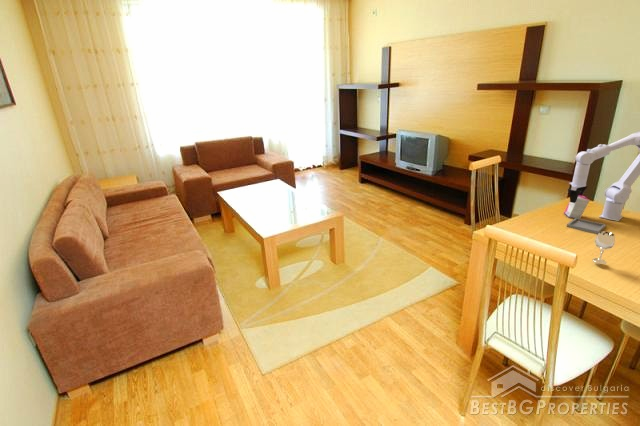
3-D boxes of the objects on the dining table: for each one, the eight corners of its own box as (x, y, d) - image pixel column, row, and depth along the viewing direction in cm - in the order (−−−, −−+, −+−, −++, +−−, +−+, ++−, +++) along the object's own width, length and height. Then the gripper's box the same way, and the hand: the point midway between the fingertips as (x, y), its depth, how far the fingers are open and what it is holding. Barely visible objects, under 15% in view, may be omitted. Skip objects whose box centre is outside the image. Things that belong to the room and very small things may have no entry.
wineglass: (586, 258, 138) (593, 231, 134) (599, 257, 138) (607, 230, 134) (598, 265, 133) (606, 237, 129) (612, 264, 133) (620, 236, 129)
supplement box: (580, 219, 177) (590, 200, 171) (568, 217, 177) (577, 198, 172) (575, 214, 182) (584, 195, 176) (563, 213, 183) (572, 193, 177)
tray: (574, 220, 176) (575, 217, 175) (605, 227, 166) (605, 224, 166) (566, 227, 168) (566, 224, 168) (597, 234, 159) (598, 231, 159)
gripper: (576, 171, 179) (570, 196, 184) (566, 176, 171) (561, 202, 175) (592, 173, 174) (586, 198, 179) (583, 179, 166) (577, 205, 170)
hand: (575, 200), depth 177 cm, fingers open, 7 cm apart
